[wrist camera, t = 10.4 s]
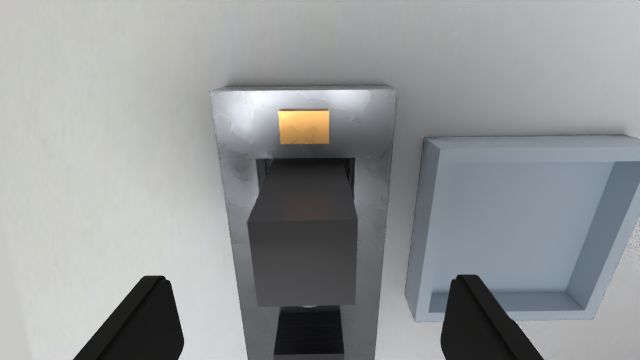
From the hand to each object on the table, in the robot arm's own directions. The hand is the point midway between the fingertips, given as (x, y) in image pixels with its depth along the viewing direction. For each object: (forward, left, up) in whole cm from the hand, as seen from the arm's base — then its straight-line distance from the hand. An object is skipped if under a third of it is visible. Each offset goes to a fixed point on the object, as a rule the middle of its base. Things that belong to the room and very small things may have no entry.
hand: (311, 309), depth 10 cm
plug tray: (-13, +3, -10) cm, 16 cm away
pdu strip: (0, +5, -10) cm, 11 cm away
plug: (0, 0, -10) cm, 10 cm away
